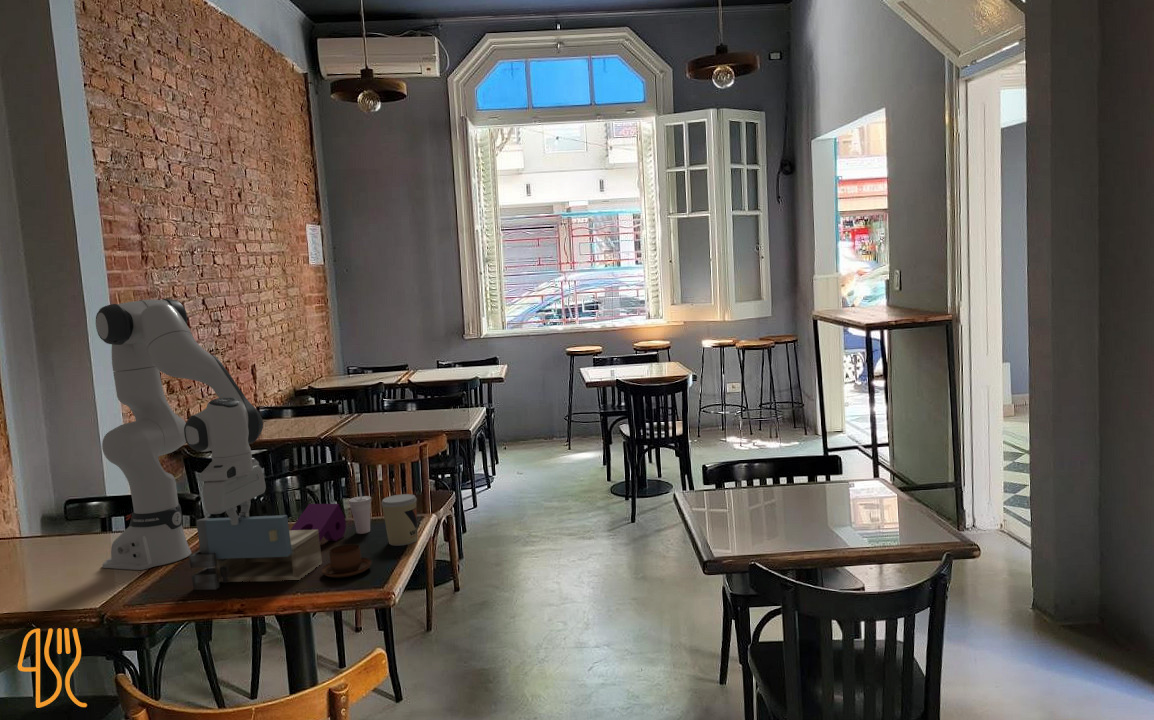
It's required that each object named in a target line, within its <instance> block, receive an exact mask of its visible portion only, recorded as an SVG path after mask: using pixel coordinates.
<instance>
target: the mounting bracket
mask: <svg viewBox="0 0 1154 720" xmlns="http://www.w3.org/2000/svg"><path fill="white" fill-rule="evenodd" d="M346 528H347V521H346V517H345V515H344V512H343V510H342V508H341V505H340V504H339V503H308V505H307V506H306V508H305V509H304V510H303V511H302V513H301V514H300V516H299V517H298V519H297V520H296V522H295V523H294V524H293V526H292V527H291V529H290V530H318V532H319V541H320V542H321V541H322V539H323V538H324V539H325V540H326V541H328V542H330V541H331V542H332V541H333V542H335V541H336V542H337V541H339V540H340V538H341V539H342V538H344V535H345V533H346ZM338 539H339V540H338Z"/></svg>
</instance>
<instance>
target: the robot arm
mask: <svg viewBox="0 0 1154 720" xmlns="http://www.w3.org/2000/svg"><path fill="white" fill-rule="evenodd" d="M95 328H96V332H97V335H98V337H99V339H101V341H102V342H104V343H105V344H107V345H111V364H112V365H111V366H112V373H113V379H114V386H115V390H116V391H115V392H116V397H117V400H118V401H119V402H120V403H121V404H122V405H124V406H126V407H128V408H129V409H130V411H131V412H132V414H133V416H134V420H135V421H131V422H126V423H123V424H120V425H118V426H117V427H115V428H113V429H112V430H109V431H108V432H107V433H106V434H105V435H104V437H103V438H102V442H101V447H102V452H103V455H104V457H105V458H106V459H107V460H108V461H109V462H110V463H111V464H113V465H115V466H116V467H118V468H119V469H120V470H121V472H122V473H123V474H124V476H125V478H126V480H127V482H128V485H129V489H130V494H131V499H132V500H131V501H132V507H133V511H132V512H131V513H130V514H128V515H126V516H125V521H129V520H130V522H129V526H128V527H127V528H126V529H125V530H124V531H123V532H122V533H120V534H119V536H118V537H117V538H116V539H115V540H114V541H113V542H112V543H111V548H110V557H109V558H108V559H106V560H104V562H103V563H102V568H103V569H104V568H105V569H116V570H118V569H119V570H132V571H134V570H135V571H143V570H147V569H150V568H153V567H158V566H159V567H160V566H163V565H167V564H173V563H175V562H178V561H181V560H183V559H185V558H187V557H189V555H191V554H192V550H191V548H190V546H189V543H188V541H187V539H186V538H187V537H186V534H185V531H184V528H183V513H182V507H181V504H180V503H179V499H178V491H177V484H176V478H175V476H174V475H173V474H171V473H170V472H167V471H165V469H164V468H163V466H162V464H161V463H160V457H161V456H164V455H167V454H171V453H173V452H175V451H177V450H178V449H180V448H182V446H184V445H185V444H187V446H189V447H190V448H191V449H192V450H194V451H195V452H199V453H200V452H201V453H203V452H206V453H207V452H210V451H211V462H209V464H208V465H207V466H206V468H204V469H203V471H201V472H200V474H199V475H200V481H201V482H204V483H203V486H202V495H203V504H204V509H205V511H206V512H207V514H209V515H218V514H223V513H224V512H225V514H227V516H228V518H230V521H231V524H232V525H237V524H239V523H240V522H241V520H240V519H241V518H240V517H250V509H251V500H252V499H254V498H256V497H258V496H260V495H263V494H265V493H266V492H265V491H266V489H267V488H266V481H265V475H264V472H263V469H262V466H261V465H260V462H259V460H257V459H256V458H255V457H253V455H252V449H251V446H250V445H252V444H254V443H255V442H256V441H257V440H258V439H259V438H260V436H261V434H262V432H263V428H264V422H263V421H264V420H263V418H262V415H261V413H260V412H259V410H258V409H257V408H256V407H255V406H254V405H253V404H252V403H251V402H250V401H249V400H248V399H247V397H246V396H245V394H244V393H243V392H242V390H241V389H240V388H239V386H238V384H237V383H236V381H235V380H234V379H233V377H232V376H231V374H230V372H229V371H228V370H227V369H226V366H225V365H224V364H223V363H222V362H221V360H220V359H219V358H218V357H217V356H216V355H213V354H211V353H209V352H208V351H207V350H205V349H204V348H203V347H202V346H201V345H200V344H199V343H198V342H197V340H196V339H195V337H194V336H193V334H192V331H191V329H190V328H189V326H188V314H187V310H186V309H185V306H184V305H183V304H182V303H181V302H180V301H178V300H176V299H173V298H172V299H169V298H163V299H138V300H134V301H129V302H122V303H111V304H108V305H105V306H102V307H100V308H99V310H98V312H97V313H96V316H95ZM161 373H162V374H164V375H167V376H170V377H173V378H177V379H186V380H189V381H190V380H192V381H196V382H199V383H202V384H205V385H206V386H209V387H210V388H211V389H212V390H213V391H214V393H215V394H216V396H217V397H218V398H214V399H212V400H210V401H208V402H207V404H206V407H205V408H204V409H203V410H201V411H199V412H198V413H195V414H193V415H190V417H189V418H188V419H187V421H185V420H184V418H182V417H181V416H179V415H178V414H176V413H175V412H174V410H173V409H172V407H171V406H170V404H169V402H168V400H167V398H166V395H165V392H164V388H163V384H162V378H161ZM237 506H240V512H239V513H238V512H237V510H238V507H237Z"/></svg>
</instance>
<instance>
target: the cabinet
mask: <svg viewBox="0 0 1154 720" xmlns="http://www.w3.org/2000/svg"><path fill="white" fill-rule="evenodd" d="M289 533H290V541H291V549H292V554H291V555H289V556H288V557H261V558H229V559H216V554H215V553H212V554H201V552H200V549H199V550H197V551H195V552H193V553H191V554H190V555H189V556H188V558H189V565H190V568H195V569H197V568H198V569H199V568H203V569H201V570H200V571H197V572H196V573H194V574H193V575H191V582H192V588H193V590H194V591H197V590H198V591H201V590H202V591H203V590H204V591H205V590H217V589H219V588H220V587H221V584H220V583H223V584H227V583H236V582H237V583H239V582H242V581H243V582H244V583H245V582H249V581H250V582H284V580H299V581H300V580H302V579H303V578H304V577H306V576H308V573H309V574H310V573H311V572H312V571H314V570H315V568H316V567H317V568H319V567H320V566H321V565H323V559H322V551H321V550H322V549H321V541H319V532H318V530H291V529H289ZM319 565H320V566H319ZM317 568H316V569H317ZM305 575H306V576H305ZM301 578H302V579H301ZM282 580H283V581H282ZM243 582H242V583H243Z"/></svg>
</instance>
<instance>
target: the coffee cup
mask: <svg viewBox="0 0 1154 720" xmlns="http://www.w3.org/2000/svg"><path fill="white" fill-rule="evenodd" d="M417 500H418V498H417V497H416V495H415V494H411V493H402V494H394V495H390V496H386V497H385V498H383V499H382V501H381V506H382V512H383V518H384V523H385V529H386V535H387V540H388V543H389V545H391V546H407V545H409V544H414V543H417V541H418V515H417V514H418V513H417V512H418V511H417V509H418V508H417Z"/></svg>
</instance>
